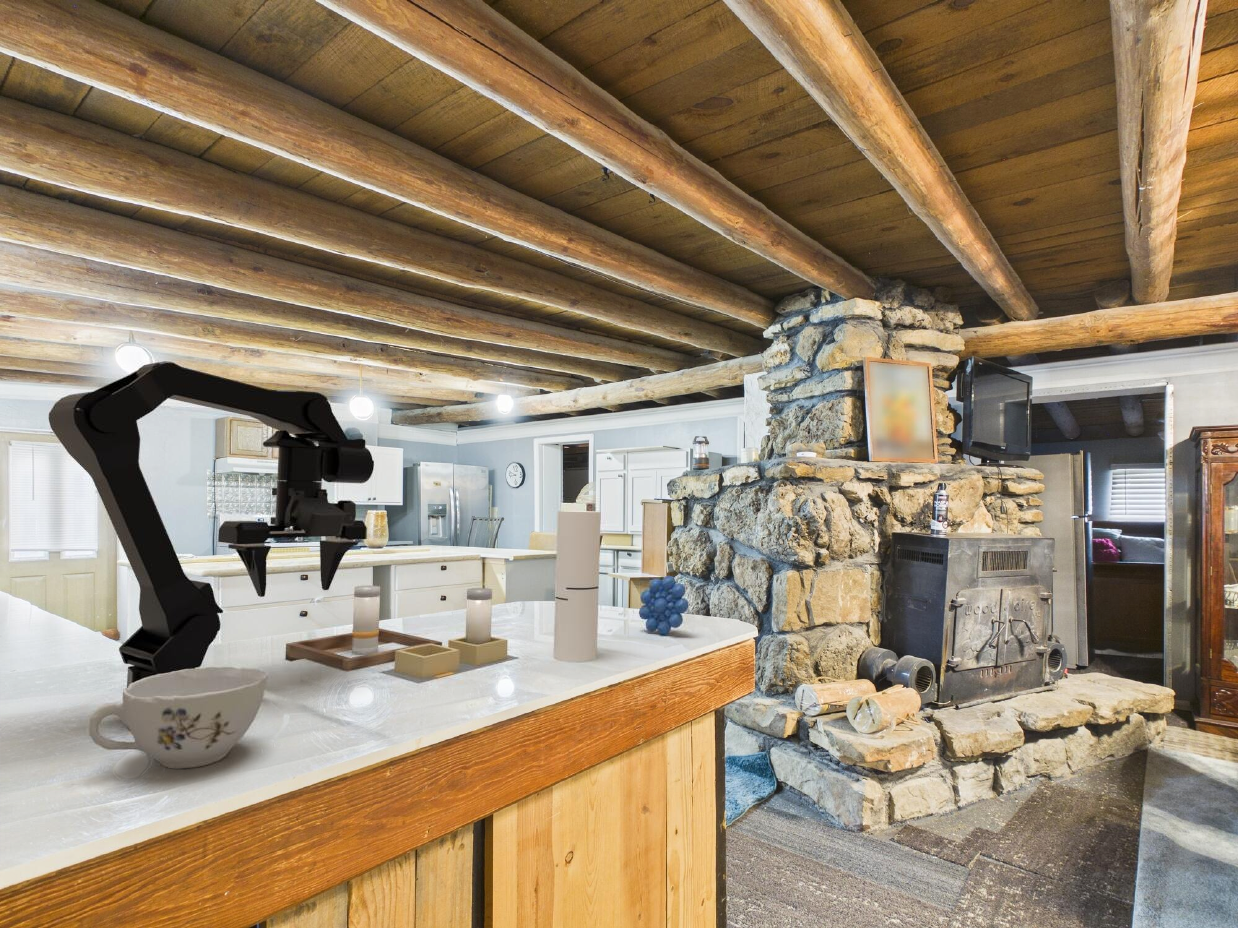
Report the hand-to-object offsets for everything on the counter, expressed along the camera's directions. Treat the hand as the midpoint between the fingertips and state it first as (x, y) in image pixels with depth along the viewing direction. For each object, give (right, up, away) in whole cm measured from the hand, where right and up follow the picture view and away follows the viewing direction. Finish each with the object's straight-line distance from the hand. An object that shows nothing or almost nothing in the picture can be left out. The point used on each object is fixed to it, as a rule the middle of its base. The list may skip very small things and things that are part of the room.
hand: (294, 593), depth 95 cm
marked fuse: (+3, -13, +17) cm, 22 cm away
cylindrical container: (+38, -15, +17) cm, 44 cm away
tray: (+3, -14, +17) cm, 22 cm away
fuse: (+23, -13, +14) cm, 30 cm away
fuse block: (+20, -14, +10) cm, 26 cm away
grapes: (+55, -17, +43) cm, 72 cm away
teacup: (+1, -12, -27) cm, 29 cm away
